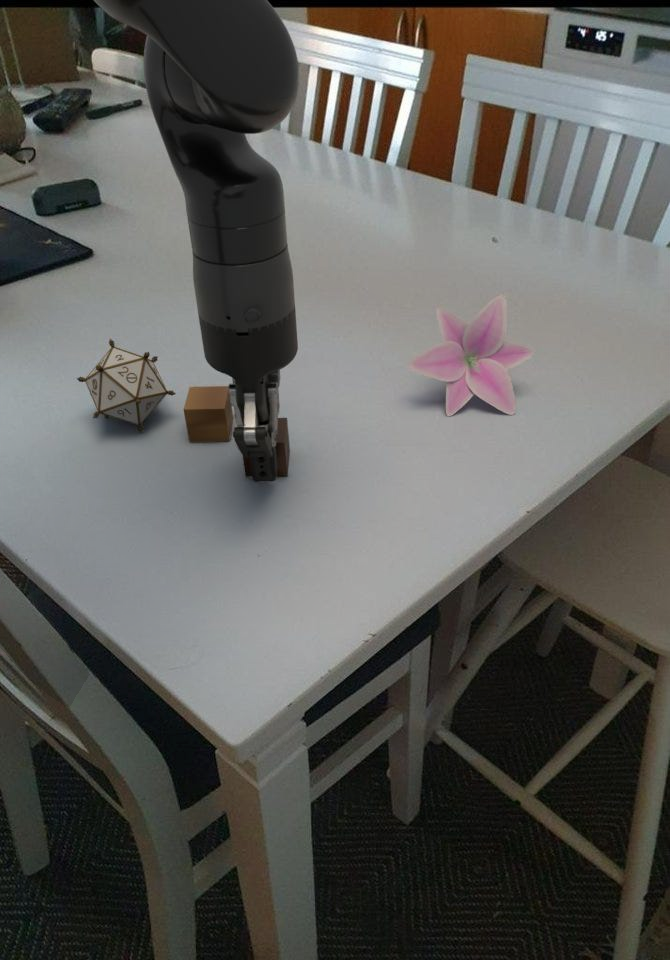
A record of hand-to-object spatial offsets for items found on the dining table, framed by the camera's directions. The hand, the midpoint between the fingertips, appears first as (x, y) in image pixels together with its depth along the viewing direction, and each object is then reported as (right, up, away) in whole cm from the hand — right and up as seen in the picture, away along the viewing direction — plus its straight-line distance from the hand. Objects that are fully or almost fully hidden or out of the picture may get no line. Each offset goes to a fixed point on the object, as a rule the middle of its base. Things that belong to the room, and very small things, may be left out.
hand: (265, 476), depth 73 cm
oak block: (-6, +5, +9) cm, 12 cm away
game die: (-15, +6, +11) cm, 19 cm away
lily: (+20, +8, +12) cm, 25 cm away
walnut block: (0, +1, +4) cm, 4 cm away
